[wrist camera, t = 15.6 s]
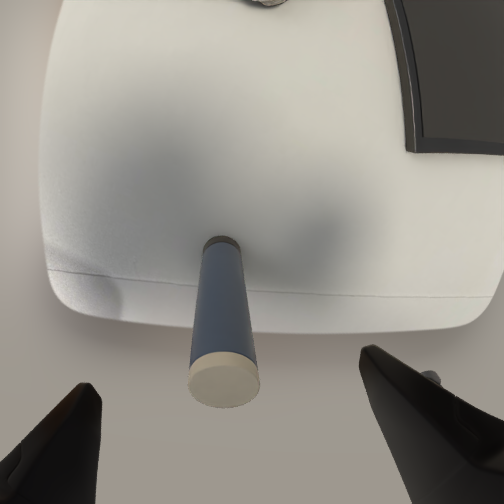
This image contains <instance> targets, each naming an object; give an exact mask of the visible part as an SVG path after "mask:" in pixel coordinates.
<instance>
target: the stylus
mask: <svg viewBox="0 0 504 504" xmlns="http://www.w3.org/2000/svg"><path fill="white" fill-rule="evenodd" d="M259 388H260V382H259V375H258V369H257V361H256V355H255V348H254V341H253V335H252V328H251V321H250V314H249V307H248V301H247V294H246V287H245V280H244V273H243V266H242V259H241V251H240V247H239V245H238V244H237V242H236V241H235V240H233V239H232V238H230V237H227V236H217V237H214V238H212V239H210V240H209V241H208V242H207V243H206V244H205V246H204V249H203V256H202V263H201V270H200V278H199V285H198V293H197V301H196V310H195V319H194V328H193V337H192V347H191V357H190V368H189V379H188V389H189V391H190V393H191V395H192V396H193V397H194V398H195V399H196V400H197V401H199V402H200V403H202V404H205V405H207V406H211V407H216V408H233V407H238V406H241V405H244V404H246V403H248V402H249V401H251V400H252V399H254V397H255V396H256V395H257V394H258V392H259Z"/></svg>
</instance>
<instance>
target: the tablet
mask: <svg viewBox="0 0 504 504" xmlns="http://www.w3.org/2000/svg"><path fill="white" fill-rule="evenodd" d="M385 3H386V7H387V11H388V15H389V19H390V24H391V28H392V33H393V37H394V42H395V48H396V53H397V59H398V65H399V72H400V79H401V87H402V95H403V105H404V116H405V130H406V150H407V151H408V152H412V153H463V154H487V155H503V156H504V0H385Z"/></svg>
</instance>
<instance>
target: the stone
mask: <svg viewBox="0 0 504 504" xmlns="http://www.w3.org/2000/svg"><path fill="white" fill-rule="evenodd" d="M252 1H260V2H261V3H262V4H264V5H267V6H272V5H278V4H280V3H282V2H284V1H286V0H252Z"/></svg>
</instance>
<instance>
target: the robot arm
mask: <svg viewBox="0 0 504 504" xmlns="http://www.w3.org/2000/svg"><path fill="white" fill-rule="evenodd" d="M359 370H360V373H361V376H362V380H363V383H364V386H365V389H366V392H367V395H368V398H369V402H370V404H371V408H372V410H373V412H374V415H375V417H376V419H377V421H378V424H379V426H380V428H381V431H382V433H383V435H384V437H385V440H386V442H387V444H388V447H389V449H390V451H391V453H392V456H393V458H394V460H395V463H396V465H397V468H398V470H399V472H400V475H401V477H402V480H403V482H404V484H405V487H406V489H407V492H408V494H409V497H410V499H411V502H412V504H504V421H503V420H501V419H498V418H496V417H494V416H492V415H490V414H487V413H486V412H483V411H482V410H480V409H478V408H475V407H474V406H472V405H470V404H469V403H467V402H465V401H464V400H462V399H460V398H459V397H457V396H456V397H455V395H454V394H452V393H451V392H449V391H447V390H446V389H444V388H443V387H442V385H440V384H438V383H437V382H435V381H433V380H432V379H430V378H428V377H425V376H424V375H422V374H420V373H419V372H417V371H416V370H414V369H412V368H411V367H409V366H408V365H406V364H404V363H403V362H401V361H400V360H398V359H397V358H395V357H393V356H392V355H390V354H389V353H387V352H386V351H384V350H383V349H381V348H379V347H378V346H376V345H373V344H372V345H368V346H365V347H363V348H362V349H361V354H360V360H359ZM101 418H102V399H101V397H100V396H99V394H98V393H97V391H96V390H95V389H94V387H93V386H92V385H91V384H90V383H79V384H78V385H77V386H76V387H75V388H74V389H73V390H72V391H71V392H70V393H69V394H68V395H67V396H66V397H65V398H64V399H63V400H62V401H61V402H60V403H59V404H58V405H57V406H56V407H55V408H54V409H53V410H52V411H51V412H50V413H49V414H48V415H47V416H46V417H45V418H44V419H43V420H42V421H41V422H40V423H39V424H38V425H37V426H36V427H35V428H34V429H33V430H32V431H31V432H30V433H29V434H28V435H27V436H26V437H25V438H24V439H23V440H22V441H21V443H19V444H18V445H17V446H16V447H15V448H14V449H13V450H12V452H10V453H9V454H8V455H7V456H6V457H5V458H4V459H3V460H2V461H1V462H0V504H95V497H96V482H97V470H98V460H99V450H100V441H101Z"/></svg>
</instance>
